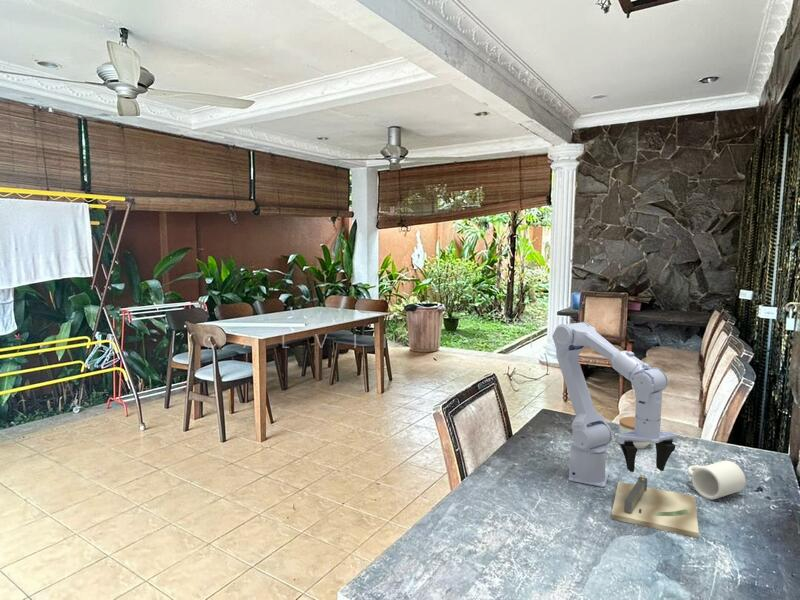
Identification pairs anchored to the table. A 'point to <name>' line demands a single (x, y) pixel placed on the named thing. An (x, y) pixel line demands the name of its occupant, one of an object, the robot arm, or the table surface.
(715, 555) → the table surface
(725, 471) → the mug
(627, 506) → the pointer
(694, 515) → the board
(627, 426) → the lidded jar
